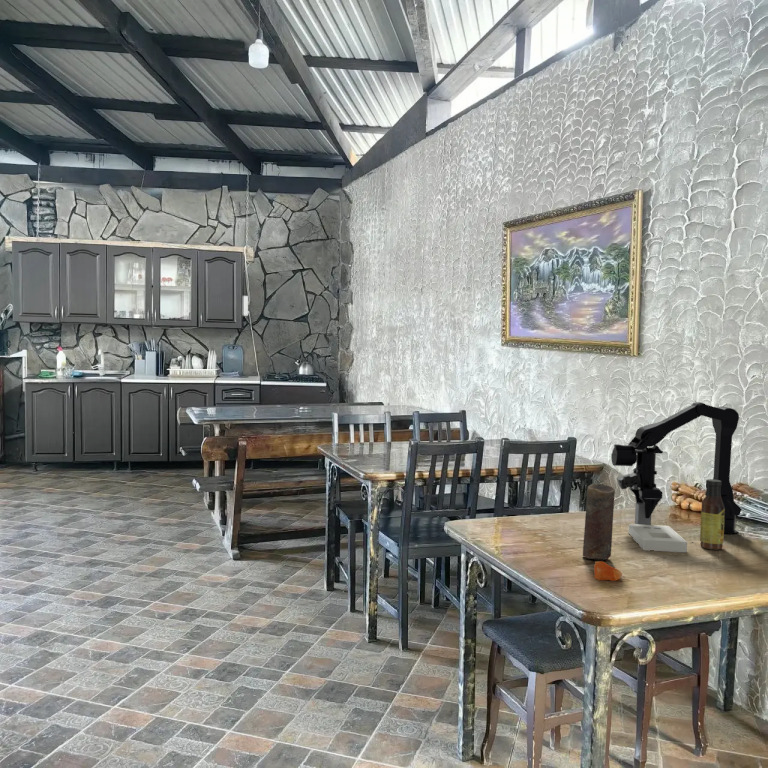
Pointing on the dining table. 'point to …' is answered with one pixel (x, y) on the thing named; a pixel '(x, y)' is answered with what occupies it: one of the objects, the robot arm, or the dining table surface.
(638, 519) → the plug
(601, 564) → the rock
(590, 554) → the candle
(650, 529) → the socket plate
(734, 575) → the dining table surface
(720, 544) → the sauce bottle
